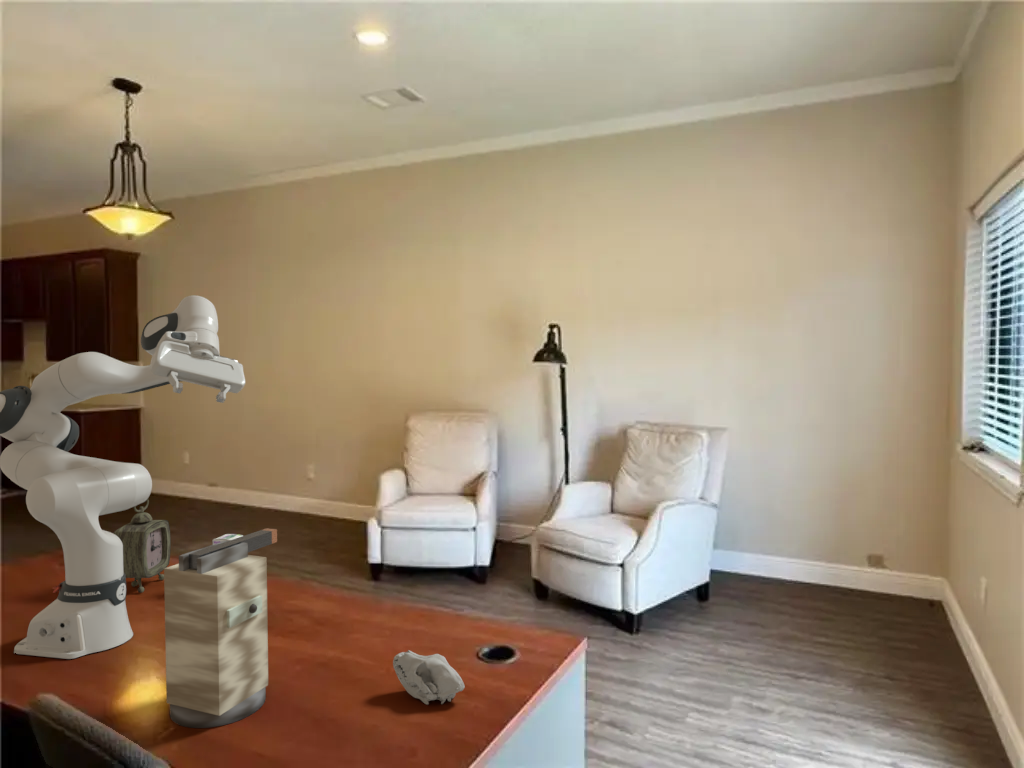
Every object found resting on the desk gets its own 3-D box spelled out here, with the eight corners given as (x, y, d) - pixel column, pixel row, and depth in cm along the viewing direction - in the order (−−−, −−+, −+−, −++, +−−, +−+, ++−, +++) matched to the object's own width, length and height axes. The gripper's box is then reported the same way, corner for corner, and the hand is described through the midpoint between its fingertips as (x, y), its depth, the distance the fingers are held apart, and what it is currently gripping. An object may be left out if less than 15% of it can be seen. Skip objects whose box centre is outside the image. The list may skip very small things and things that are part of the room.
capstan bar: (200, 569, 120) (199, 555, 120) (189, 568, 121) (188, 553, 121) (277, 541, 138) (276, 529, 138) (267, 540, 139) (266, 528, 139)
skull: (455, 698, 122) (406, 641, 125) (424, 729, 125) (377, 673, 128) (476, 674, 130) (429, 621, 133) (447, 704, 133) (401, 651, 136)
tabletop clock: (143, 595, 184) (141, 501, 183) (109, 595, 184) (107, 501, 183) (171, 578, 198) (169, 491, 197) (139, 578, 198) (138, 491, 197)
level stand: (219, 735, 115) (217, 565, 114) (148, 717, 121) (145, 555, 120) (284, 692, 130) (282, 541, 129) (218, 678, 136) (215, 533, 135)
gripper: (236, 369, 170) (239, 414, 162) (147, 347, 157) (146, 394, 149) (248, 353, 167) (251, 398, 159) (158, 329, 154) (157, 376, 146)
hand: (200, 396), depth 154 cm, fingers open, 8 cm apart
